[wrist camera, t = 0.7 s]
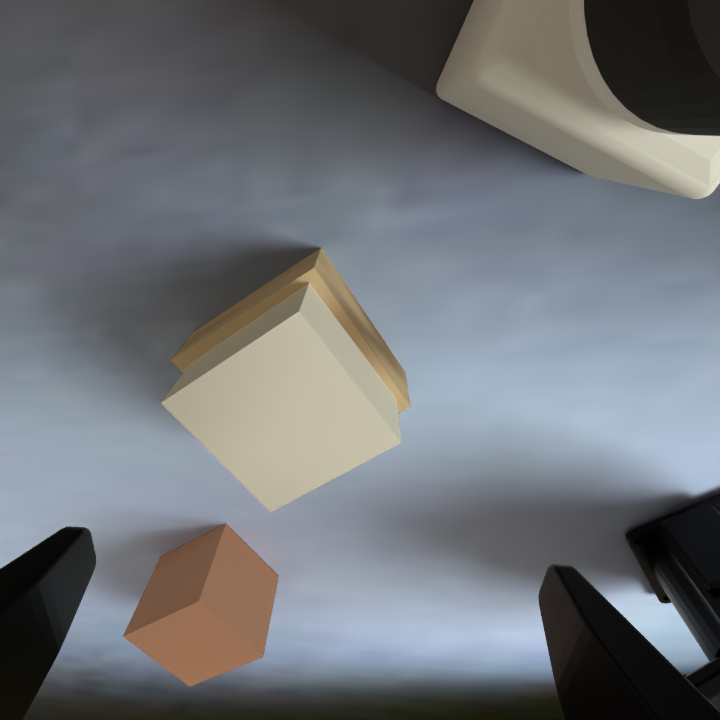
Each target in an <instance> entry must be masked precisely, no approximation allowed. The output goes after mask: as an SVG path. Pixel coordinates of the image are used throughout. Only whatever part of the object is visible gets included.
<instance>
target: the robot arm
mask: <svg viewBox="0 0 720 720" xmlns="http://www.w3.org/2000/svg"><path fill="white" fill-rule="evenodd" d="M625 537H626V540H627V542H628V544H629V546H630V548H631V549H632V551H633V553H634V555H635V557H636V559H637V561H638V563H639V564H640V566H641V568H642V570H643V572H644V574H645V576H646V578H647V579H648V581H649V583H650V585H651V587H652V589H653V591H654V593H655V594H656V596H657V598H658V599H659V601H660V602H661V603H671V602H672V603H673V605H674V606H675V608H676V610H677V611H678V613H679V614H680V616H681V617H682V619H683V621H684V622H685V624H686V625H687V627H688V628H689V630H690V631H691V633H692V635H693V636H694V638H695V639H696V641H697V642H698V644H699V645H700V647H701V649H702V650H703V652H704V653H705V655H706V656H707V658H708V659H709V661H710V662H708V663H707V664H705V665H703V666H702V667H700V668H698V669H697V670H695V671H693V672H691V673H690V674H688V675H685V674H683V675H682V674H681V673H680V672H679V671H678V670H677V669H676V668H675V667H674V666H673V665H672V664H671V663H670V662H669V661H668V660H667V659H666V658H665V657H664V656H663V655H662V654H661V653H660V652H659V651H658V650H657V649H656V648H655V647H654V646H653V645H652V644H651V643H650V642H649V641H648V640H647V639H646V638H645V637H644V636H643V635H642V634H641V633H640V632H639V631H638V630H637V629H636V628H635V627H634V626H633V625H632V624H631V623H630V622H629V621H628V620H627V619H626V618H625V617H624V616H623V615H622V614H621V613H620V612H619V611H618V610H617V609H616V608H615V607H614V606H612V605H611V604H610V603H609V602H608V601H607V600H606V599H605V598H604V597H603V596H602V595H601V594H600V593H599V592H598V591H597V590H596V589H595V588H594V587H593V586H592V585H591V584H590V583H589V582H588V581H587V580H586V579H585V578H584V577H583V576H582V575H581V574H580V573H579V572H578V571H577V570H576V569H575V568H574V567H572V566H569V565H559V564H552V565H550V566H549V567H548V569H547V572H546V575H545V577H544V580H543V583H542V586H541V588H540V591H539V606H540V611H541V616H542V621H543V626H544V631H545V636H546V641H547V646H548V651H549V656H550V661H551V666H552V671H553V676H554V680H555V685H556V689H557V692H558V696H559V700H560V703H561V706H562V710H563V713H564V716H565V719H566V720H720V495H719V496H716V497H714V498H711V499H708V500H706V501H703V502H701V503H698V504H696V505H693V506H691V507H688V508H686V509H683V510H681V511H678V512H676V513H673V514H671V515H668V516H666V517H663V518H660V519H658V520H655V521H653V522H650V523H648V524H645V525H643V526H640V527H638V528H635V529H633V530H631V531H629V532H628V533H627V534H626V536H625ZM95 565H96V555H95V550H94V545H93V541H92V536H91V533H90V531H89V529H87V528H83V527H65V528H63V529H61V530H59V531H58V532H56V533H55V534H53V535H52V536H50V537H49V538H47V539H45V540H44V541H42V542H41V543H39V544H38V545H36V546H35V547H33V548H32V549H30V550H29V551H27V552H26V553H24V554H22V555H21V556H19V557H18V558H16V559H15V560H13V561H12V562H10V563H9V564H7V565H6V566H4V567H3V568H1V569H0V720H23V718H24V716H25V714H26V712H27V711H28V709H29V707H30V705H31V703H32V701H33V700H34V698H35V696H36V694H37V692H38V690H39V689H40V687H41V685H42V683H43V681H44V679H45V677H46V676H47V674H48V672H49V670H50V668H51V666H52V665H53V663H54V661H55V659H56V657H57V655H58V653H59V651H60V649H61V646H62V644H63V642H64V640H65V638H66V635H67V633H68V631H69V628H70V626H71V624H72V621H73V619H74V616H75V614H76V612H77V609H78V607H79V605H80V602H81V600H82V598H83V595H84V593H85V591H86V588H87V586H88V584H89V581H90V579H91V576H92V574H93V572H94V569H95Z"/></svg>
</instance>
